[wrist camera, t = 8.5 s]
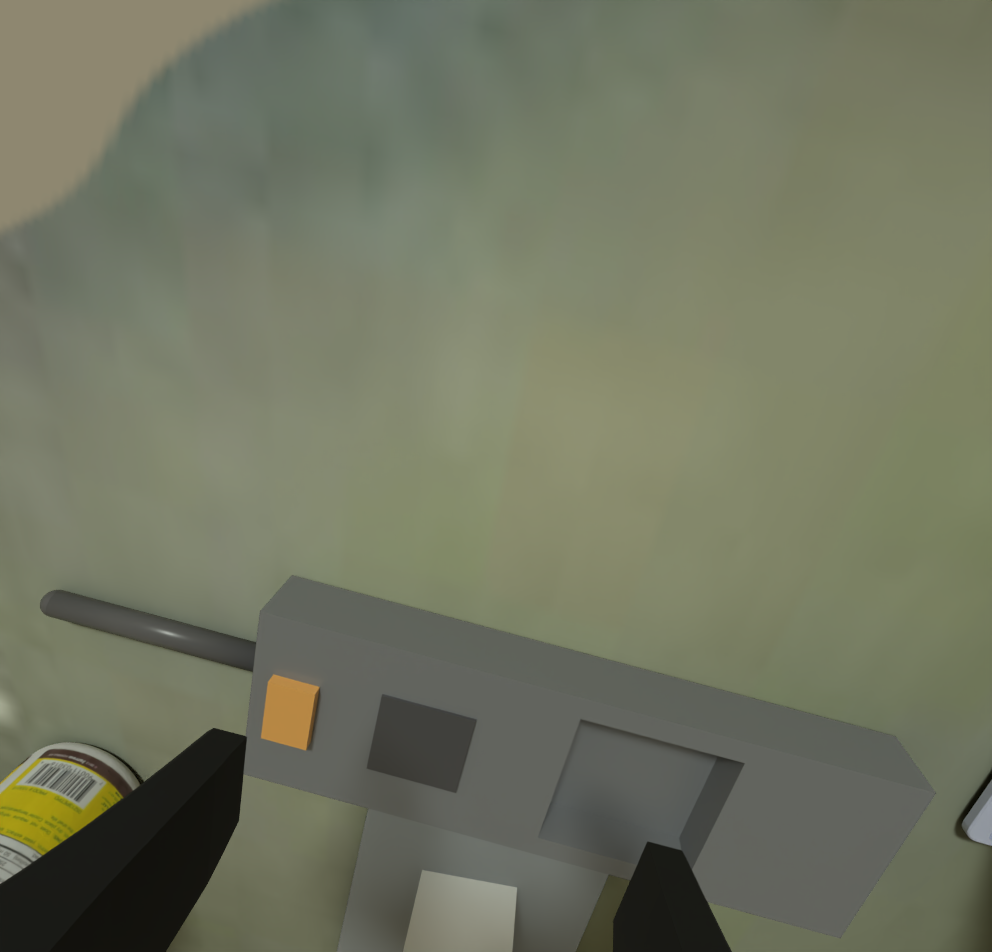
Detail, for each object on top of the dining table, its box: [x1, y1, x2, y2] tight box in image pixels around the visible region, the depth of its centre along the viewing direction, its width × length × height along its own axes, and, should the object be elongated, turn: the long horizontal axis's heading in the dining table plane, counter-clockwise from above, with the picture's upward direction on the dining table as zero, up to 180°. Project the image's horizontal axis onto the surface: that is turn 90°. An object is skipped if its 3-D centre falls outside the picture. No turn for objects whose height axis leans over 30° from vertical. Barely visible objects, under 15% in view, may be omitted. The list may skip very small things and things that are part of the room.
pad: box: [337, 809, 608, 952], centre depth 26 cm, size 10×10×1 cm
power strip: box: [40, 575, 936, 938], centre depth 21 cm, size 31×7×3 cm, turn 77°
